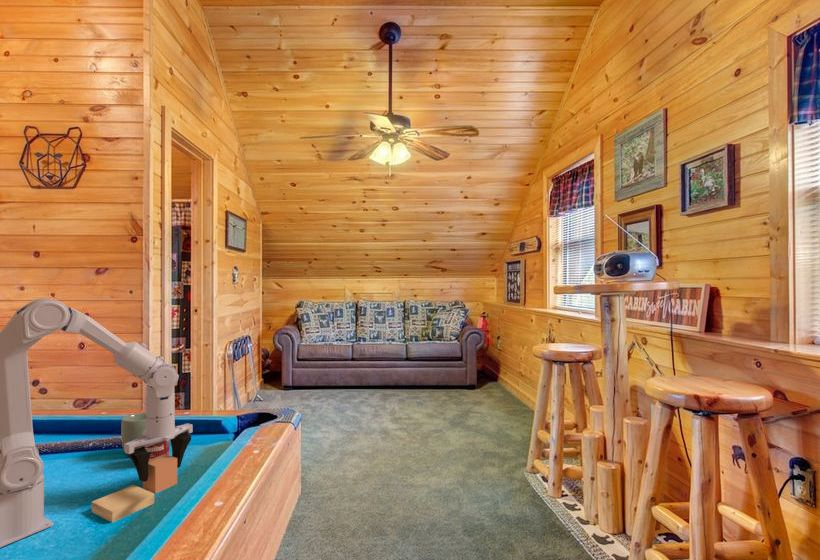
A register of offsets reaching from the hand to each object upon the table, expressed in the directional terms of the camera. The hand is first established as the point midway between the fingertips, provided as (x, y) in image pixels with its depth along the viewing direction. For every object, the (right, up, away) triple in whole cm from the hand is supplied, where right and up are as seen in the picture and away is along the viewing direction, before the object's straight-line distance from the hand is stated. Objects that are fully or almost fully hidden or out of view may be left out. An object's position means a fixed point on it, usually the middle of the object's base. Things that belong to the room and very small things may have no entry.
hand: (160, 473), depth 95 cm
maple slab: (-2, -3, -9) cm, 10 cm away
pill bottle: (-9, -3, +13) cm, 16 cm away
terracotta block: (0, -3, 0) cm, 3 cm away
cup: (-17, -3, +18) cm, 25 cm away
